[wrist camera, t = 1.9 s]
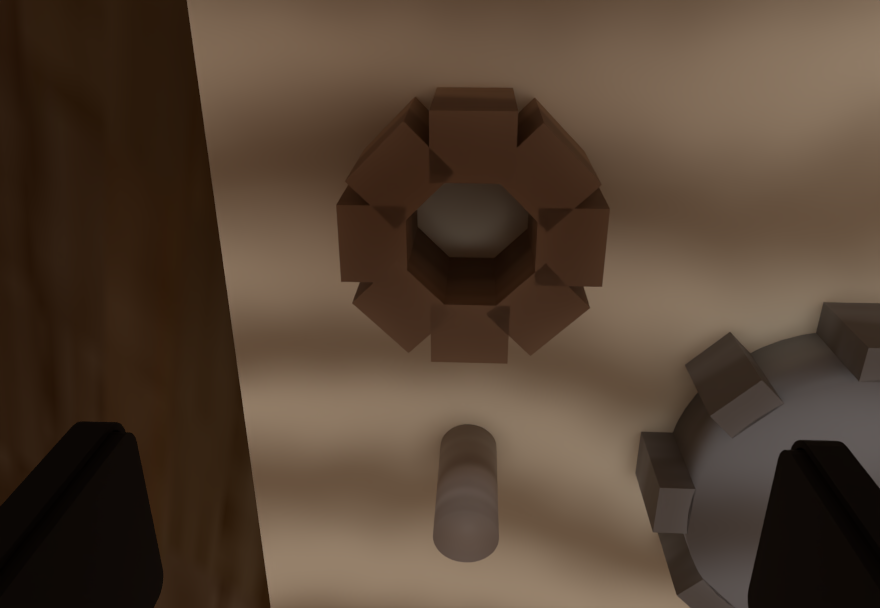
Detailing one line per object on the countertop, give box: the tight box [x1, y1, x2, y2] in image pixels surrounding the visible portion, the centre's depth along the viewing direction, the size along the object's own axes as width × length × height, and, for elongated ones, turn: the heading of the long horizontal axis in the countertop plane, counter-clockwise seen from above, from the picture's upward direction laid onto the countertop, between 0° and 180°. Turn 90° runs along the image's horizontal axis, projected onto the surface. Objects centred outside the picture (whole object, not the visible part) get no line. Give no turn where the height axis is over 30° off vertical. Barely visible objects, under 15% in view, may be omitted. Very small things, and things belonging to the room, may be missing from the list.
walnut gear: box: [336, 87, 610, 364], centre depth 21 cm, size 7×7×4 cm
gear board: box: [187, 0, 880, 608], centre depth 23 cm, size 24×30×6 cm
